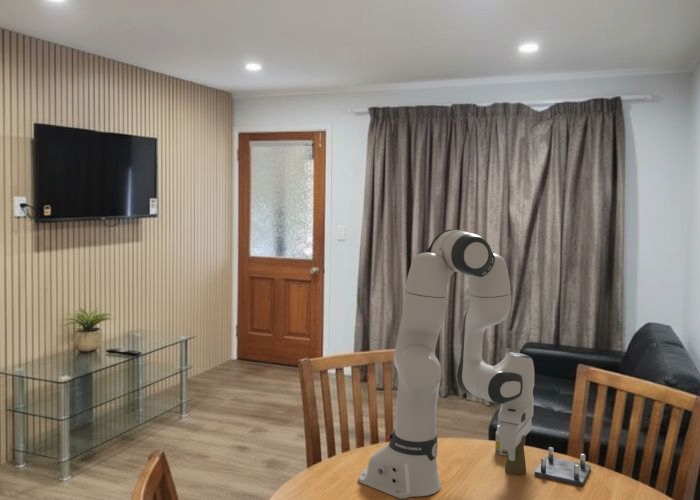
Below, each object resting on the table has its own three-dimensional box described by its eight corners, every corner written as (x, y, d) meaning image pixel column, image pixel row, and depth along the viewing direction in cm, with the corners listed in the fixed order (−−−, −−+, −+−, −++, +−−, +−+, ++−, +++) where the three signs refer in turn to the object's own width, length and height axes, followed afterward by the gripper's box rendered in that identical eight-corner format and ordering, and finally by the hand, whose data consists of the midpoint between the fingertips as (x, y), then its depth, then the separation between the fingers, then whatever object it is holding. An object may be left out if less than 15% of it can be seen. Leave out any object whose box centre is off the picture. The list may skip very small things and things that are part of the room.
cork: (527, 476, 175) (528, 438, 174) (505, 474, 176) (506, 436, 175) (525, 467, 181) (526, 430, 180) (504, 465, 182) (505, 429, 181)
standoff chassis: (534, 475, 175) (534, 459, 175) (545, 459, 186) (545, 444, 186) (582, 486, 168) (583, 469, 168) (590, 469, 180) (591, 453, 179)
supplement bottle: (513, 451, 192) (513, 425, 191) (508, 456, 188) (509, 430, 188) (498, 448, 195) (498, 422, 194) (493, 453, 191) (493, 426, 190)
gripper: (516, 397, 188) (515, 441, 189) (495, 416, 170) (494, 465, 171) (537, 400, 184) (536, 445, 185) (518, 420, 167) (517, 470, 168)
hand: (516, 455), depth 178 cm, fingers open, 6 cm apart
